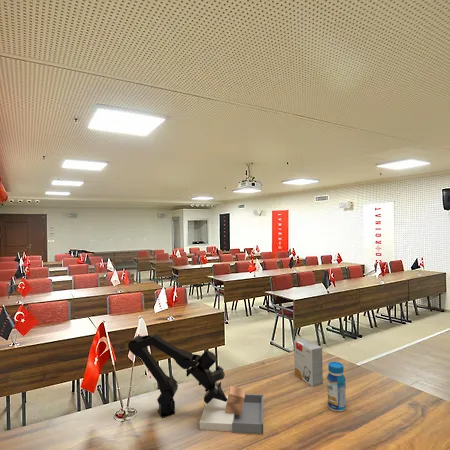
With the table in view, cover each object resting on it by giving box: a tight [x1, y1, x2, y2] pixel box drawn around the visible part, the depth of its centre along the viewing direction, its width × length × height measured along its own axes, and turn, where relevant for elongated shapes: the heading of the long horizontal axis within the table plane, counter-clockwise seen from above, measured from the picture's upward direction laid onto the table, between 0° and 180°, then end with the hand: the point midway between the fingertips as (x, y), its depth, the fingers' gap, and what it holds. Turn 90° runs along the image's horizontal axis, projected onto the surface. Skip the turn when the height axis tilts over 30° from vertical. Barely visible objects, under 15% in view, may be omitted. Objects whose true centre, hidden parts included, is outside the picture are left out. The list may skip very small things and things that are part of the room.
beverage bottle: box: [326, 361, 347, 412], centre depth 151 cm, size 8×8×20 cm
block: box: [225, 385, 246, 415], centre depth 146 cm, size 7×7×8 cm
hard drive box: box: [293, 338, 324, 387], centre depth 179 cm, size 16×8×20 cm, turn 25°
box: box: [231, 393, 265, 435], centre depth 146 cm, size 13×24×4 cm, turn 173°
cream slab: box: [199, 395, 235, 432], centre depth 147 cm, size 14×22×3 cm, turn 173°
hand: (226, 400), depth 147 cm, fingers closed
